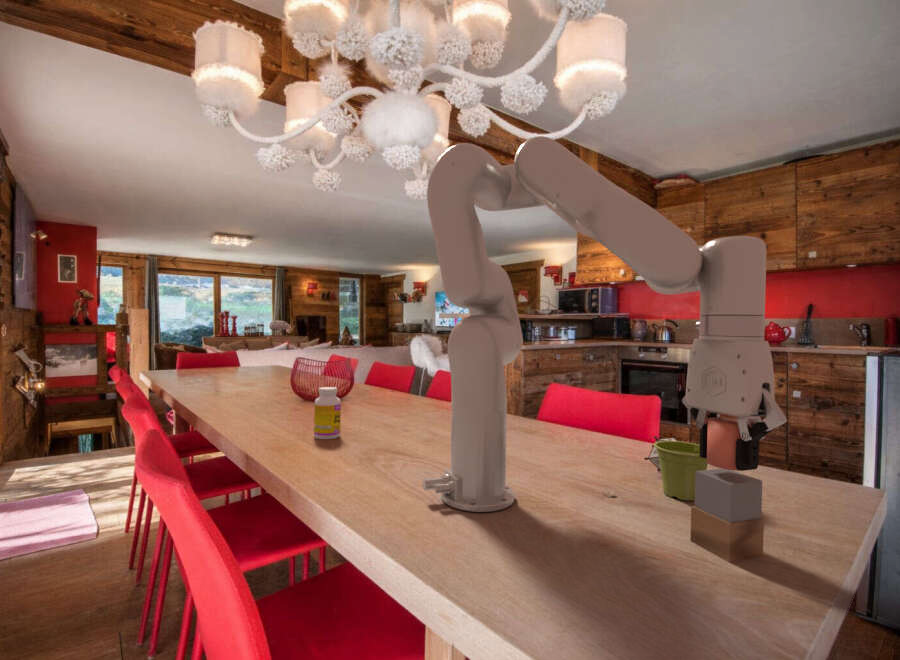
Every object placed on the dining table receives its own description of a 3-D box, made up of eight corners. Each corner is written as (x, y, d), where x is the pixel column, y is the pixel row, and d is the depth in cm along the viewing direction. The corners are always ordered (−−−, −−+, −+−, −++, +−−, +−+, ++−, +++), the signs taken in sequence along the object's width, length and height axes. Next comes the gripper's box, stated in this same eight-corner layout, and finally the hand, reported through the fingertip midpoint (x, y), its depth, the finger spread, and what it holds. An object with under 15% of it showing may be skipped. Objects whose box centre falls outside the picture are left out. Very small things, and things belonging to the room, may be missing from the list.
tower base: (729, 563, 58) (730, 524, 58) (690, 541, 63) (691, 506, 63) (763, 556, 60) (763, 518, 59) (722, 535, 65) (723, 501, 65)
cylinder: (730, 472, 58) (732, 426, 58) (698, 460, 63) (699, 418, 63) (758, 468, 60) (760, 423, 60) (724, 458, 64) (726, 416, 64)
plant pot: (645, 485, 86) (645, 439, 85) (695, 486, 85) (696, 440, 85) (667, 504, 76) (668, 453, 76) (723, 506, 76) (724, 455, 76)
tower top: (729, 523, 58) (730, 484, 58) (694, 506, 63) (695, 471, 63) (761, 518, 60) (762, 480, 60) (724, 502, 65) (725, 467, 65)
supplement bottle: (336, 440, 114) (337, 390, 114) (310, 440, 114) (311, 389, 114) (343, 434, 121) (343, 386, 121) (318, 433, 121) (319, 386, 121)
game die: (679, 496, 90) (706, 466, 84) (637, 478, 91) (660, 447, 85) (677, 464, 97) (702, 434, 91) (638, 447, 98) (660, 416, 93)
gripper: (660, 328, 68) (658, 448, 68) (773, 330, 52) (769, 487, 52) (699, 329, 70) (696, 445, 71) (818, 331, 54) (814, 481, 54)
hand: (727, 461), depth 61 cm, fingers closed on cylinder, 4 cm apart
